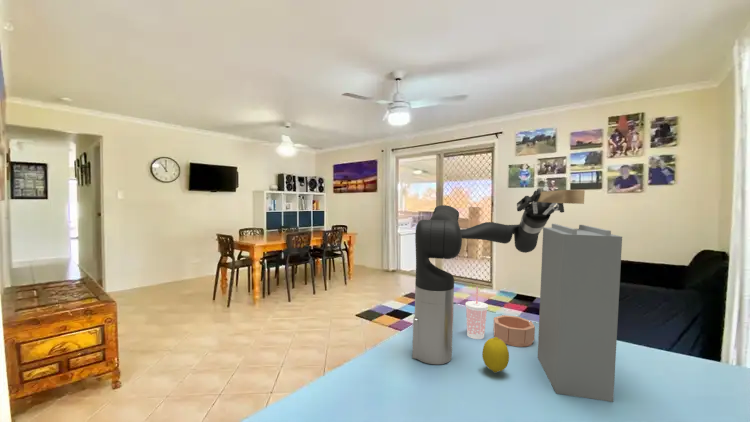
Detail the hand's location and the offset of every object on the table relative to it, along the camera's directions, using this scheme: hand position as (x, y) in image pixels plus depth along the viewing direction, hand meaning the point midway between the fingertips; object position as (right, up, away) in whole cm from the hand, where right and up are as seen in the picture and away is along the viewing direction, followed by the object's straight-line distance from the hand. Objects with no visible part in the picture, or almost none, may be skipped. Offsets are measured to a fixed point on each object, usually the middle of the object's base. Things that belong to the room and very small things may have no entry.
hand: (547, 191), depth 93 cm
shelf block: (-7, -42, -22) cm, 48 cm away
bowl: (-11, -41, -3) cm, 42 cm away
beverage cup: (-21, -41, -1) cm, 46 cm away
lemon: (-23, -42, -21) cm, 52 cm away
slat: (-2, -3, -8) cm, 9 cm away
